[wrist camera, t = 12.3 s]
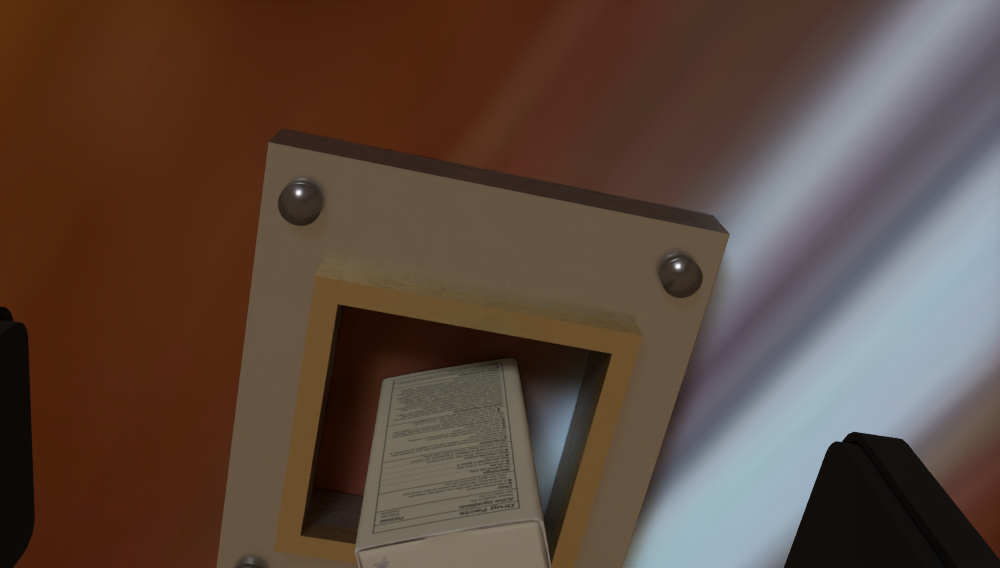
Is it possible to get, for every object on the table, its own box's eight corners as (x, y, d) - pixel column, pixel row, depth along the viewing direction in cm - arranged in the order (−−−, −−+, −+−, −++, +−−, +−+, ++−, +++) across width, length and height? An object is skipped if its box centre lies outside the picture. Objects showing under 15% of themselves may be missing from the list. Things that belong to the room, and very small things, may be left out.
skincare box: (400, 457, 41) (375, 657, 29) (380, 372, 39) (345, 550, 28) (535, 435, 40) (562, 628, 29) (520, 349, 39) (543, 519, 28)
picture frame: (713, 215, 37) (737, 242, 34) (584, 623, 45) (594, 677, 41) (281, 128, 35) (262, 147, 32) (225, 571, 43) (205, 624, 39)
